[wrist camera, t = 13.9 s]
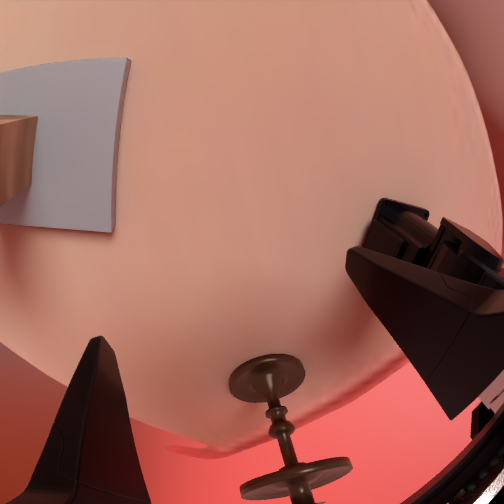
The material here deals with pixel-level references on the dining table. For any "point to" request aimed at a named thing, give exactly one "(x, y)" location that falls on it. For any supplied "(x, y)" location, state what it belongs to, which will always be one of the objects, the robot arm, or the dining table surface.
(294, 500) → the candlestick
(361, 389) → the dining table surface
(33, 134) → the walnut block
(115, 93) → the board
